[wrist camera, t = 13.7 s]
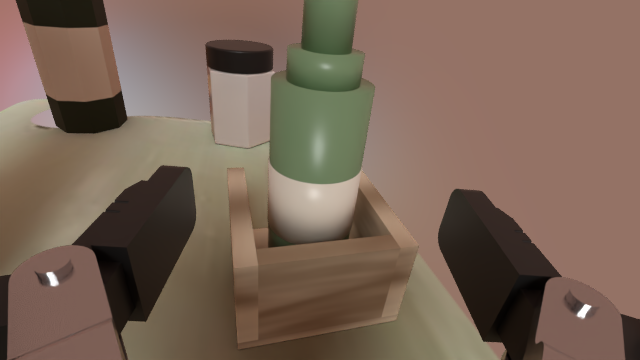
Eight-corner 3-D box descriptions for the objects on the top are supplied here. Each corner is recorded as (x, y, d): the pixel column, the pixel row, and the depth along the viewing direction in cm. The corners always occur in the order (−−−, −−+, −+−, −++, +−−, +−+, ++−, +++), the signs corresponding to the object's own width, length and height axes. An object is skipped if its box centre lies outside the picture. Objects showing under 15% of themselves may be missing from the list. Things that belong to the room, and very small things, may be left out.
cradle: (395, 320, 23) (419, 245, 19) (237, 349, 20) (233, 268, 16) (346, 225, 31) (356, 162, 28) (230, 236, 28) (227, 168, 25)
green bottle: (250, 276, 24) (244, -67, 14) (294, 235, 28) (314, -49, 18) (319, 315, 22) (370, -63, 12) (355, 263, 26) (415, -43, 16)
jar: (280, 130, 50) (283, 44, 44) (264, 152, 43) (265, 54, 37) (223, 121, 51) (218, 36, 45) (198, 142, 44) (189, 45, 38)
